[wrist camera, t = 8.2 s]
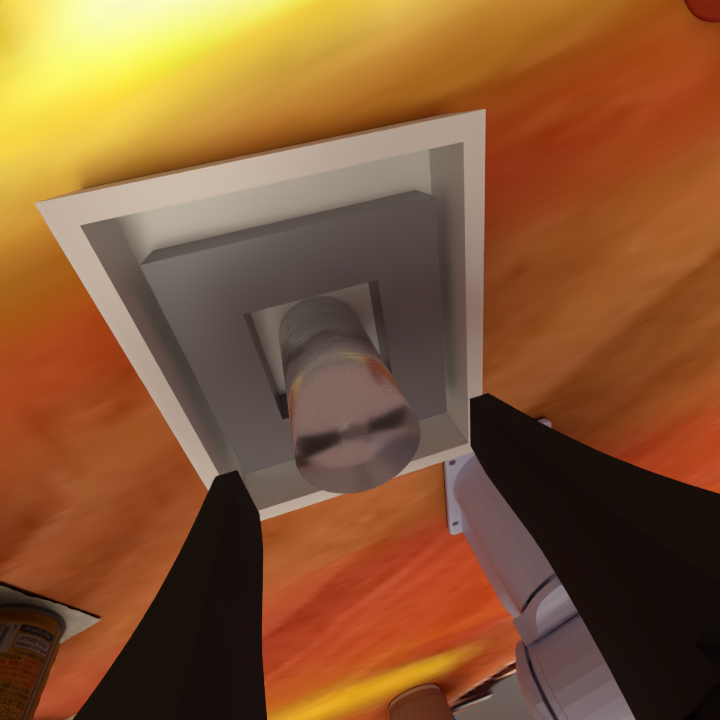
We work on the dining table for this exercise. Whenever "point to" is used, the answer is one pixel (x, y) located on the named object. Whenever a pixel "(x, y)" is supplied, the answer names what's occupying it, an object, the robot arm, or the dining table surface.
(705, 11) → the paper cup
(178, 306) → the box
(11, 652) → the condiment
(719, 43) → the dining table surface
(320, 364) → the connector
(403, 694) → the coffee cup
